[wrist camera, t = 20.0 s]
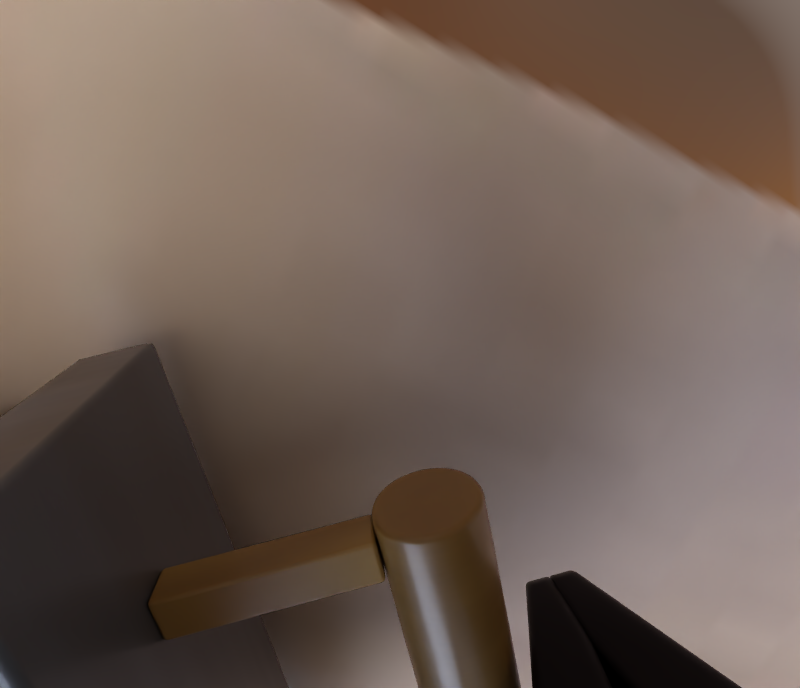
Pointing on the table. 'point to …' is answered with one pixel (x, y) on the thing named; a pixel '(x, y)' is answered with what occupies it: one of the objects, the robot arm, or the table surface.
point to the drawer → (208, 553)
